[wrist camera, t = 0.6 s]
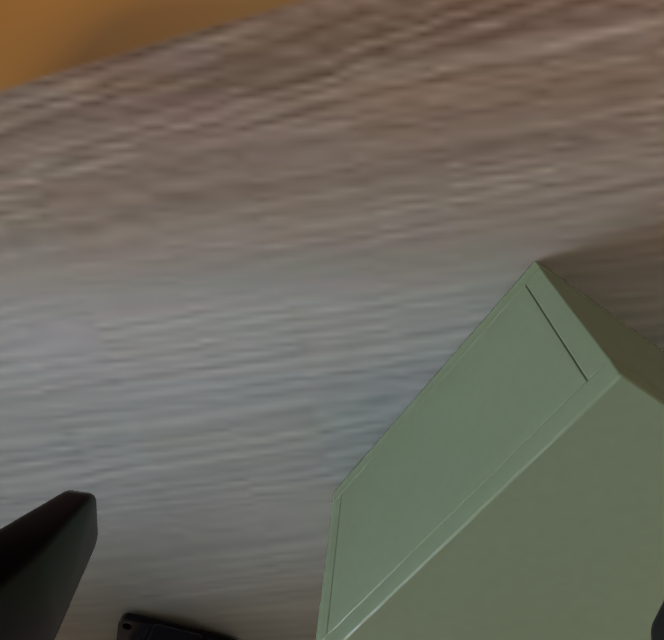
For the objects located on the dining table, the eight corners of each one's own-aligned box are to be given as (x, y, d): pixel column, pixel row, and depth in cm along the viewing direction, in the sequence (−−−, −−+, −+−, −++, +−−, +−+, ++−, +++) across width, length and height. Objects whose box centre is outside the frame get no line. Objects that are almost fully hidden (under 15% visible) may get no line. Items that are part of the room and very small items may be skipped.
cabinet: (794, 443, 23) (1003, 634, 15) (560, 624, 28) (626, 836, 20) (534, 260, 21) (622, 372, 13) (333, 491, 26) (310, 671, 18)
